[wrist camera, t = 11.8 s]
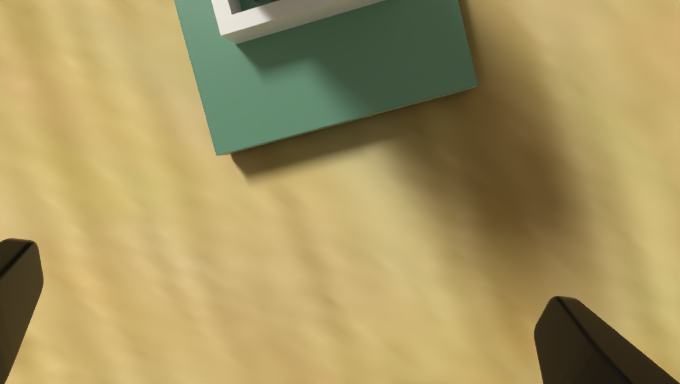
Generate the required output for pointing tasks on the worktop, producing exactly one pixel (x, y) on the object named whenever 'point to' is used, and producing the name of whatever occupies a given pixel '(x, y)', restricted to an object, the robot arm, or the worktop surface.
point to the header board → (318, 62)
